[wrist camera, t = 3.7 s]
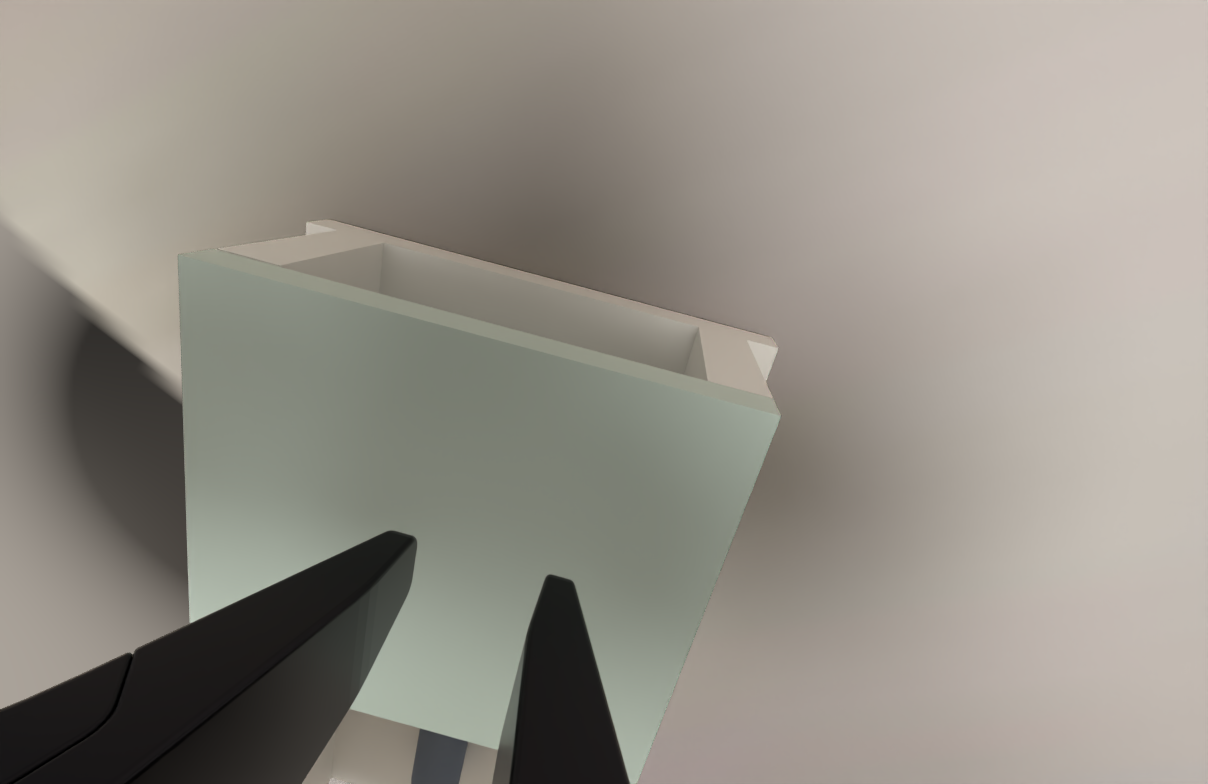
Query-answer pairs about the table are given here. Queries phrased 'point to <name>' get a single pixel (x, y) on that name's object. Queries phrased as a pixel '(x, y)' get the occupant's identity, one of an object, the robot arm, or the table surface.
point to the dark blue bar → (438, 759)
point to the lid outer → (457, 484)
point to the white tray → (521, 302)
